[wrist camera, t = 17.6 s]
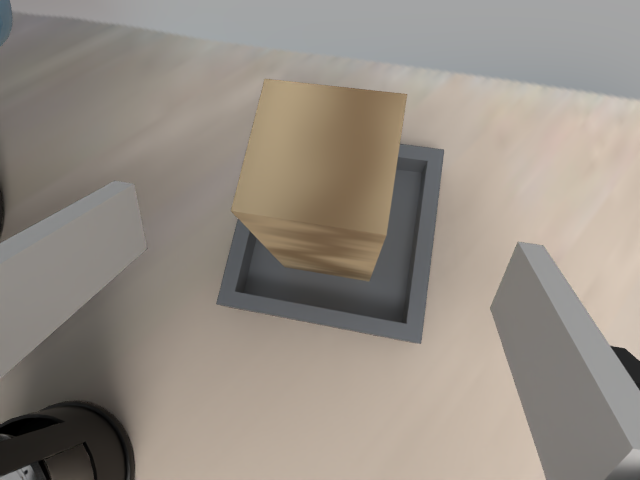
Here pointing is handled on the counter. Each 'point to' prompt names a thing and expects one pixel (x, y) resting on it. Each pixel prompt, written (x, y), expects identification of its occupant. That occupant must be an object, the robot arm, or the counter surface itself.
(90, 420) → the french press
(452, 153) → the counter surface
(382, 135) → the oak block
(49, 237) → the robot arm
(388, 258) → the slate tray
